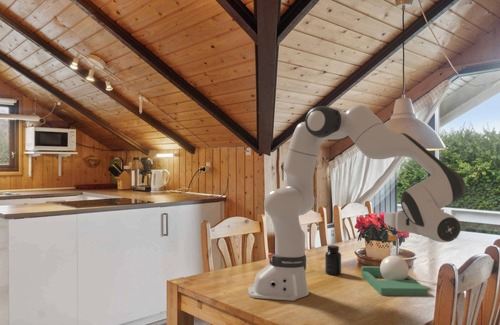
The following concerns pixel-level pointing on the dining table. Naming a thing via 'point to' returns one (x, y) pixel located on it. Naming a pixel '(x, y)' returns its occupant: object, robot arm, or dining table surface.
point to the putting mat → (392, 286)
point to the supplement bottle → (333, 260)
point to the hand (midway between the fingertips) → (407, 216)
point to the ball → (394, 268)
